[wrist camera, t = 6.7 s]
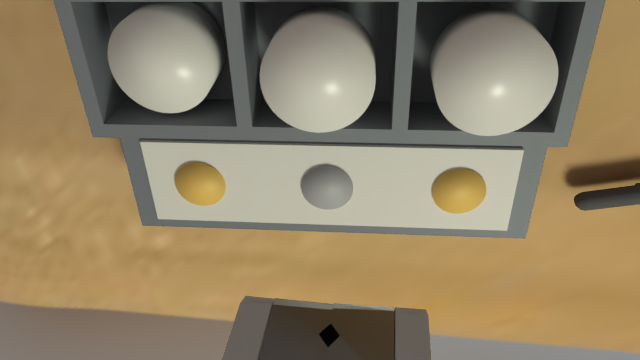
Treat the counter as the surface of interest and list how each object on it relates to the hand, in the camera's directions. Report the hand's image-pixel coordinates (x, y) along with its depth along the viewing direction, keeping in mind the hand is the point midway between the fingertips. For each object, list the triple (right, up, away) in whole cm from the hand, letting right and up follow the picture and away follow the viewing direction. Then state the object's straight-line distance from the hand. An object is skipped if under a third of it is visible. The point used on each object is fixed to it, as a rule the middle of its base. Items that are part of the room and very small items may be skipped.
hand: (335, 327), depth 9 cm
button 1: (-6, +8, +13) cm, 16 cm away
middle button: (0, +7, +11) cm, 13 cm away
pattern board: (0, +7, +16) cm, 18 cm away
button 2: (+6, +7, +11) cm, 14 cm away
